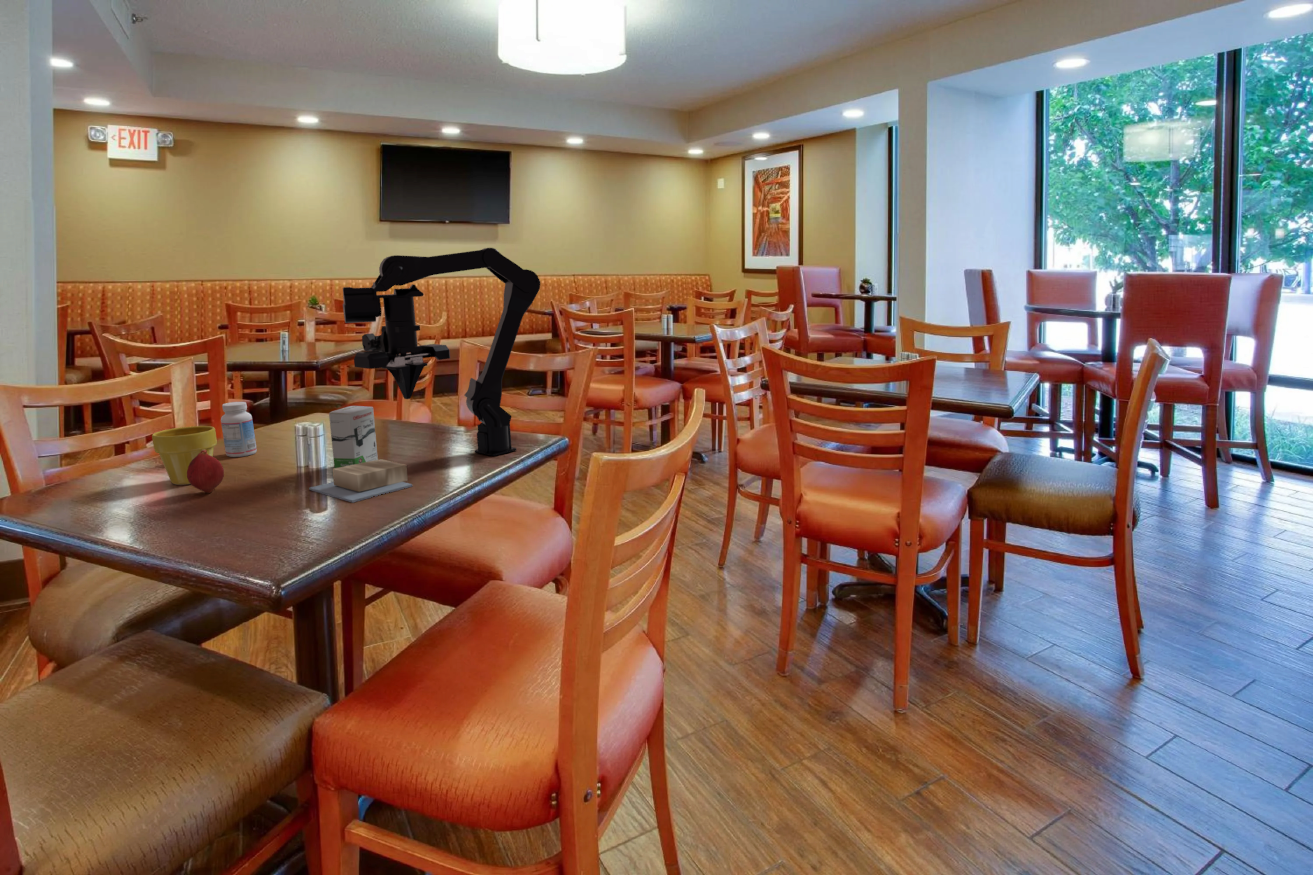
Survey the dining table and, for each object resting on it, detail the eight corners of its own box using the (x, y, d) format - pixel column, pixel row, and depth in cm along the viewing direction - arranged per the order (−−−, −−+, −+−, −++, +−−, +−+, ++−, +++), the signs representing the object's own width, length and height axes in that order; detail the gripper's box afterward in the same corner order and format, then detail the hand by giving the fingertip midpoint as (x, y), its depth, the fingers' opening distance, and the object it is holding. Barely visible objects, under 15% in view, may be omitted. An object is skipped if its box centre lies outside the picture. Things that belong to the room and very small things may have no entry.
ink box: (356, 472, 157) (349, 413, 154) (333, 472, 158) (326, 412, 155) (379, 461, 165) (374, 405, 162) (358, 461, 166) (352, 404, 163)
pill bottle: (250, 449, 179) (244, 400, 176) (261, 453, 175) (254, 402, 172) (221, 454, 175) (214, 404, 172) (231, 459, 170) (224, 407, 168)
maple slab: (381, 459, 153) (332, 468, 145) (406, 464, 148) (357, 475, 140) (382, 475, 154) (334, 485, 146) (407, 481, 149) (358, 492, 141)
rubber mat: (368, 475, 155) (368, 473, 154) (412, 486, 146) (412, 484, 146) (309, 489, 145) (309, 487, 145) (352, 502, 137) (352, 500, 137)
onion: (189, 499, 141) (182, 455, 140) (190, 491, 146) (184, 448, 145) (226, 494, 144) (220, 450, 142) (226, 486, 149) (220, 444, 147)
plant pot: (176, 474, 159) (168, 426, 156) (231, 472, 159) (224, 424, 157) (148, 489, 149) (140, 437, 146) (207, 486, 149) (199, 435, 147)
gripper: (415, 316, 170) (421, 389, 174) (334, 323, 156) (342, 402, 160) (448, 317, 164) (454, 393, 167) (366, 324, 149) (375, 407, 153)
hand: (407, 398), depth 162 cm, fingers closed
